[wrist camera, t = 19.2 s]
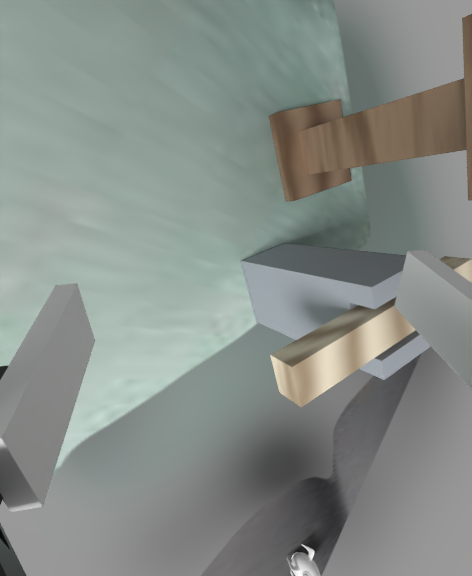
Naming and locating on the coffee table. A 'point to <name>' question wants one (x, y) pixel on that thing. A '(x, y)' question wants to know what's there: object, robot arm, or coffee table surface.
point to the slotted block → (326, 293)
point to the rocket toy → (303, 563)
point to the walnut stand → (373, 133)
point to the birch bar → (344, 345)
